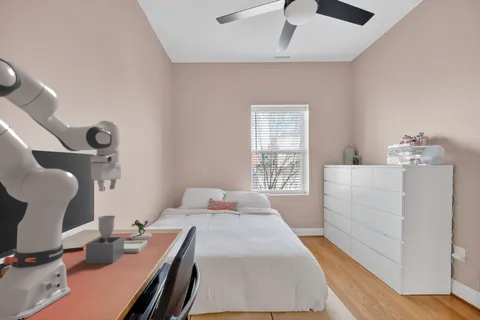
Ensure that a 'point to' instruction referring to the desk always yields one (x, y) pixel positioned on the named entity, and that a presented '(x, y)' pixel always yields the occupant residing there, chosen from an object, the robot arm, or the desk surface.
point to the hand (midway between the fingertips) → (107, 190)
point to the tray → (134, 246)
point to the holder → (104, 250)
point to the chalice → (106, 226)
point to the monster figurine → (140, 235)
